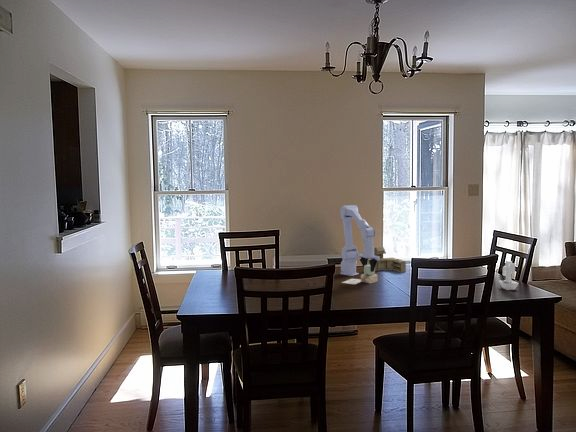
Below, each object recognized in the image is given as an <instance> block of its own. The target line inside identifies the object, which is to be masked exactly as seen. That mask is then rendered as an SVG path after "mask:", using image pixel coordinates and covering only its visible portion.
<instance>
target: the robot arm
mask: <svg viewBox="0 0 576 432" xmlns="http://www.w3.org/2000/svg"><path fill="white" fill-rule="evenodd" d="M339 213H340V219H341V220H342V226H343V236H344V246H343V247H342V248H341V255H340V256H341V259H342V260H341V262H340V273H339V274H340V275H344V276H350V277H353V276H356V275H359V274H360V273H359V272H357V260H358V259H359V261H360V262H361V265H362V268H363V270H364V266H365V265H368V260H369V262H370V267H371V272H373V271H374V269H375V265H376V263H377V261H378V260H380V257H379V256H375V255H374V237H375V236H376V229H375V228H374V227H373V226H370V225H369V223H368V222H367V221H366V219H364V218H362V216H361V214H360V212H359V207H358V206H357V204H353V205H351V204H350V205H342V206H340V208H339ZM352 220H354V221H355V222H356V225H357V227H358V229H359V230H360V233H361V238H362V241H363V254H362V253H359V251H358V247H357V246H356V245H354V238H353V229H352V228H353V227H352ZM370 259H371V260H370Z"/></svg>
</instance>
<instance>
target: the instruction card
mask: <svg viewBox="0 0 576 432" xmlns="http://www.w3.org/2000/svg"><path fill="white" fill-rule="evenodd" d="M341 283H342V284H346V285H347V284H349V285H357V284H360V283H362V282H361V278H350V279H346V280H345V281H341Z"/></svg>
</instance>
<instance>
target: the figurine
mask: <svg viewBox="0 0 576 432" xmlns="http://www.w3.org/2000/svg"><path fill="white" fill-rule="evenodd" d="M515 273H516V264H515V263H513V261H512V260H505V265H504V266H502V276H503V277H505V279H504V280H498V282H499V284H500V286H501V288H502V289H504V290H506V291H510V290H511V291H513V290H516V288H517V287H518V286H519V284H520V283H519V282H517V281H515V280H512V276H513V274H515Z"/></svg>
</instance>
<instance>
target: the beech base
mask: <svg viewBox="0 0 576 432" xmlns="http://www.w3.org/2000/svg"><path fill="white" fill-rule="evenodd" d="M378 276H379V275H378V274H376V273H375V274H372V275H367V274H364V273H362V274H360V280H361V282H360V283H367V284H373V283H377V282H378V281H379V279H378V278H379V277H378Z"/></svg>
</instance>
